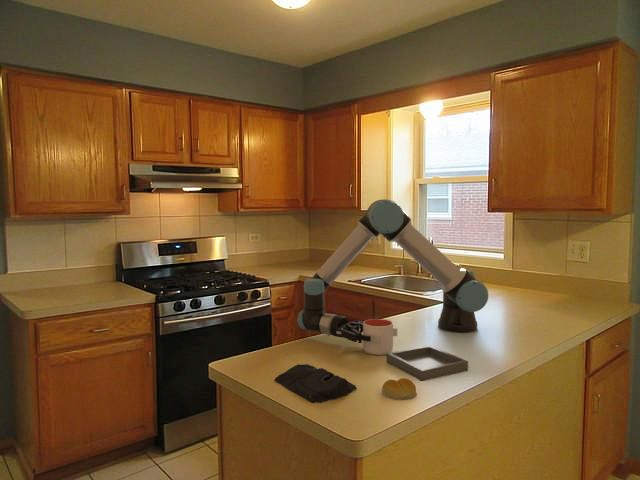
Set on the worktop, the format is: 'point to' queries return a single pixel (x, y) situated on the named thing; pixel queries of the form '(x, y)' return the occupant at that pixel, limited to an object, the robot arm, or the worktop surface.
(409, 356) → the tray
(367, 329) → the cup
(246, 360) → the worktop surface
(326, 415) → the worktop surface
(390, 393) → the bread roll
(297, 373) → the dark slate chunk
